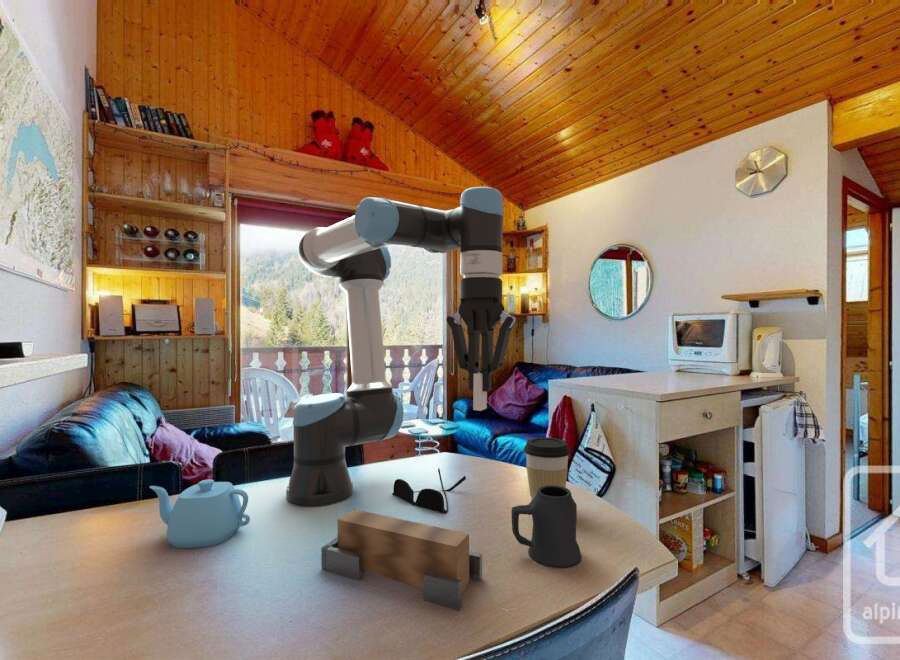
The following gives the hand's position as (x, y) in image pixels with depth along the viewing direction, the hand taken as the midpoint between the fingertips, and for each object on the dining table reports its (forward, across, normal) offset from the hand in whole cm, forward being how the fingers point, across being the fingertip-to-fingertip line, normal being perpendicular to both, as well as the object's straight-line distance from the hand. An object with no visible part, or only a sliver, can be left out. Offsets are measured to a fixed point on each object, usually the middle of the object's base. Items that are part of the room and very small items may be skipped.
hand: (480, 409), depth 79 cm
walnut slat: (+25, -8, -14) cm, 30 cm away
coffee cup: (+25, +7, +20) cm, 33 cm away
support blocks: (+25, +2, -14) cm, 28 cm away
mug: (+25, +12, +2) cm, 28 cm away
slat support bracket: (+25, -16, -14) cm, 33 cm away
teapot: (+21, -57, -25) cm, 66 cm away
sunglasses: (+26, -18, +17) cm, 36 cm away
